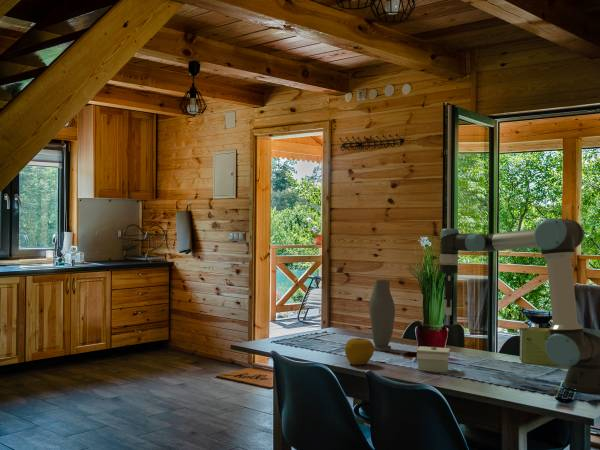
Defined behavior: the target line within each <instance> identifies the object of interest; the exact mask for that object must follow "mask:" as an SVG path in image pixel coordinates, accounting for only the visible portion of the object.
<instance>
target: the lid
mask: <svg viewBox="0 0 600 450" xmlns="http://www.w3.org/2000/svg"><path fill="white" fill-rule="evenodd" d="M450 350H451V348H449V347H437V346H424V345H423V346H422V345H421V346H418V347H417V349H416V359H418V358H419V359H432V360H446V361H448V362H449V357H450V355H451V354H450V352H451V351H450Z"/></svg>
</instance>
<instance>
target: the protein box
mask: <svg viewBox="0 0 600 450" xmlns="http://www.w3.org/2000/svg"><path fill="white" fill-rule="evenodd" d="M549 328H550V327H548V328H546V327H524V326H520V327H519V361H520V360H521V361H520V362H521V363H522V364H527V363H531V364H530V365H542V364H549V365H548V366H558V365H557V364H555V363H554V362H553V361H552V360H550V358H549V357H548V355H547V353H546V350H545V343H546V341H547V340H548V338H549V337H550V334H549Z"/></svg>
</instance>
